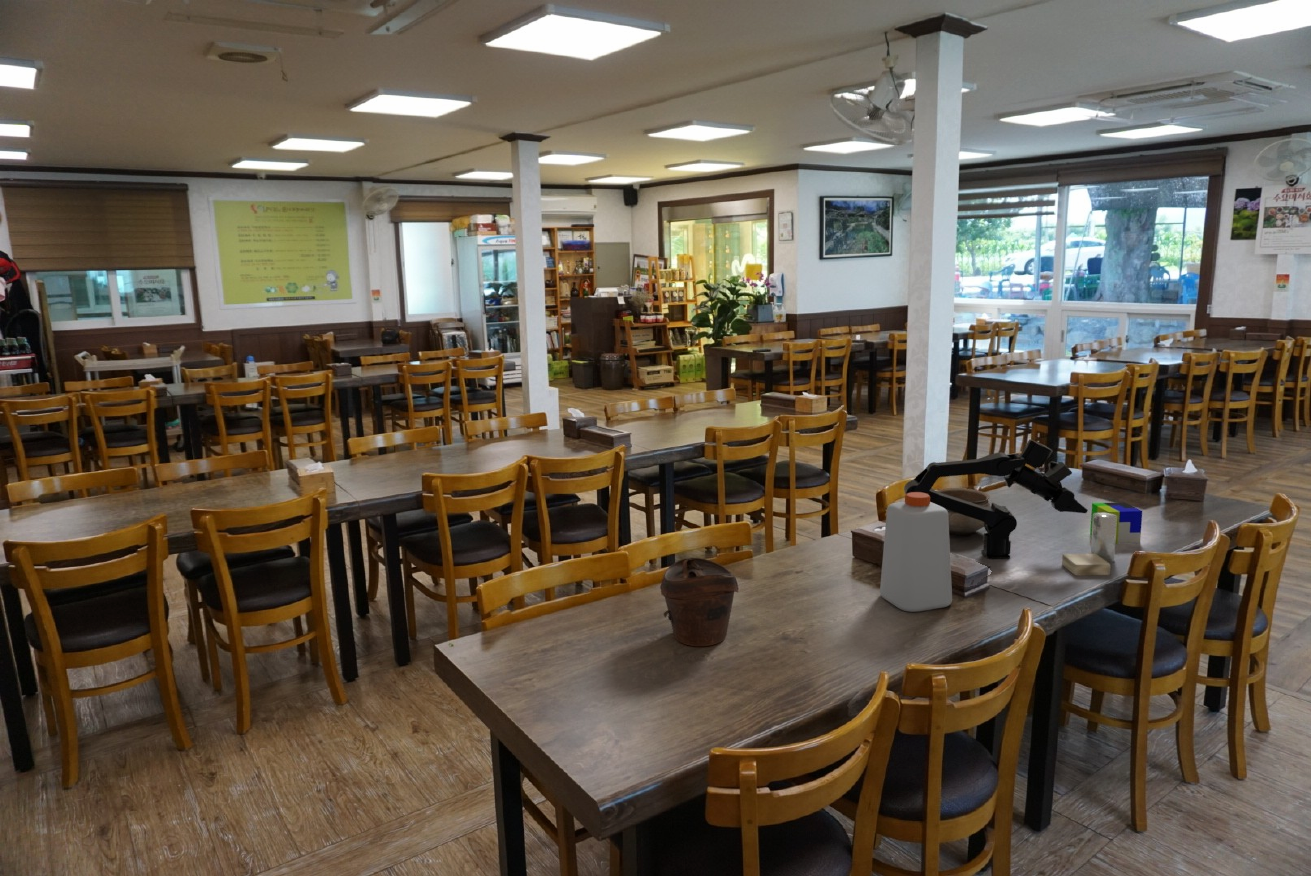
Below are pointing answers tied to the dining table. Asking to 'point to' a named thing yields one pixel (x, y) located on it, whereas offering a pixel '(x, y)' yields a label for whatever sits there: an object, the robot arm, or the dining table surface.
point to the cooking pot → (961, 522)
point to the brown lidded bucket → (698, 600)
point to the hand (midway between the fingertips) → (1081, 507)
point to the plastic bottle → (916, 555)
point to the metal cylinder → (1104, 536)
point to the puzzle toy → (1122, 520)
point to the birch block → (1086, 564)
